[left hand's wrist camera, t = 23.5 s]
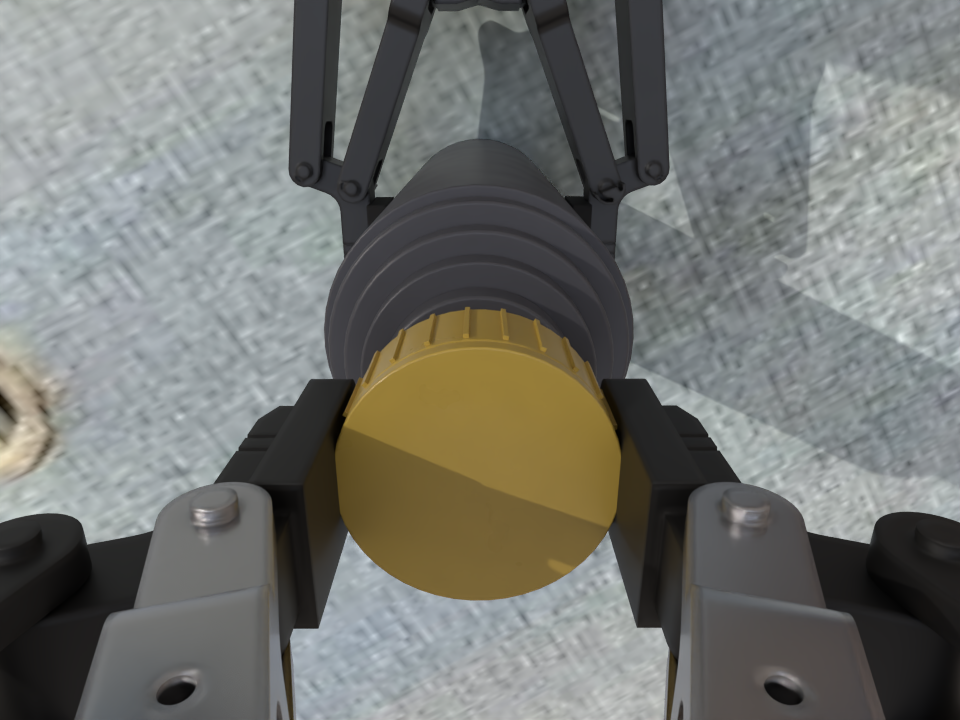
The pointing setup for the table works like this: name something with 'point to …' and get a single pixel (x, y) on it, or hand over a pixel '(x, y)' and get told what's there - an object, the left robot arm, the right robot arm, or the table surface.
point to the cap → (478, 457)
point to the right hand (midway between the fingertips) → (480, 348)
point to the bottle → (479, 262)
